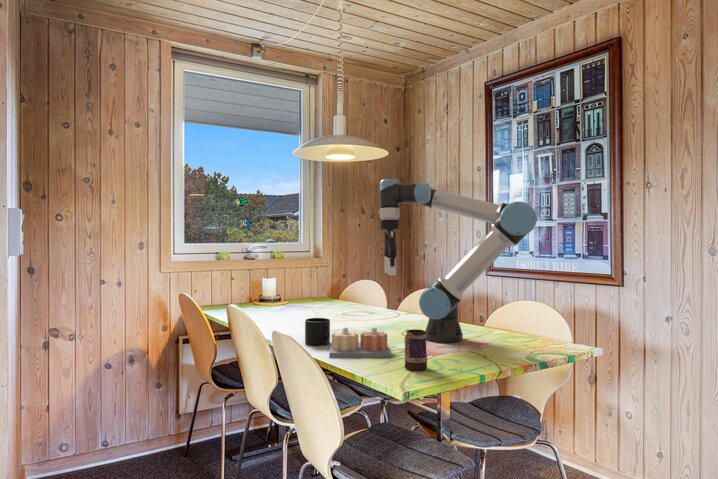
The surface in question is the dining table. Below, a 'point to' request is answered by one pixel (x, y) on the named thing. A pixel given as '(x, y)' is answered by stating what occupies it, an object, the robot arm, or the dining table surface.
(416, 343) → the mug
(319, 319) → the mug
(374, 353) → the gear board
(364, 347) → the gear
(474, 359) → the dining table surface
